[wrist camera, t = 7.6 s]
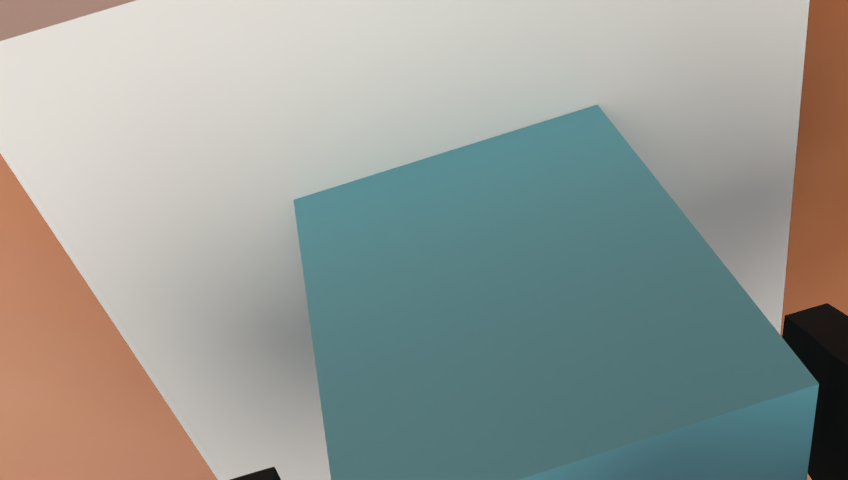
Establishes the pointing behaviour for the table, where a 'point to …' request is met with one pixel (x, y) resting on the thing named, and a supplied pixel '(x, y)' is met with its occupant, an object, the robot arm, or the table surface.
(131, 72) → the cream base plate
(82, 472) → the table surface
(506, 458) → the teal block
